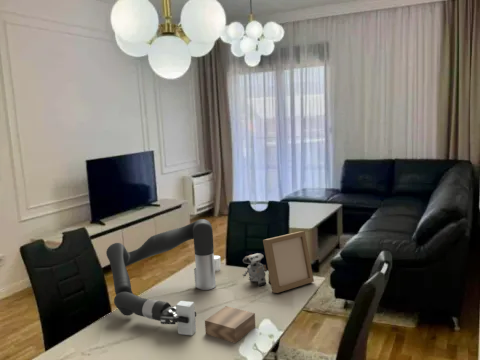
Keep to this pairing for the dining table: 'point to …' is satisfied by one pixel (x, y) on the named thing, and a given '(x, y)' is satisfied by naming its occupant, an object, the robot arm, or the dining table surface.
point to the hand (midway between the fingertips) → (191, 317)
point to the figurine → (255, 268)
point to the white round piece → (217, 262)
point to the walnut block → (230, 324)
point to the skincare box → (187, 311)
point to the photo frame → (288, 261)
